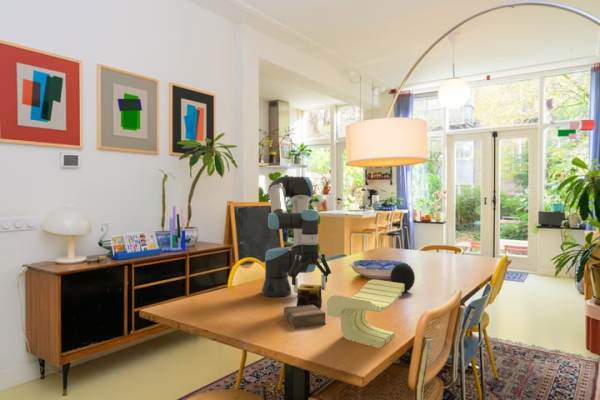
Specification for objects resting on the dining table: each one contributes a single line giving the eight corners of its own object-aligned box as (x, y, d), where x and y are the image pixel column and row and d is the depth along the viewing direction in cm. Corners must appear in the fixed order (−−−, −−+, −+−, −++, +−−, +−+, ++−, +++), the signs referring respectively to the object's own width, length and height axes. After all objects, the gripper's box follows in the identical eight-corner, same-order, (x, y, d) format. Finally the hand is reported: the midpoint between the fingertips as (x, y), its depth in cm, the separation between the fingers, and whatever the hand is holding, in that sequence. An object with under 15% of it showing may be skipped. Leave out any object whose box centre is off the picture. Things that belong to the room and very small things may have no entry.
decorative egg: (390, 288, 218) (390, 261, 217) (413, 289, 215) (413, 261, 215) (390, 294, 205) (390, 265, 205) (415, 295, 203) (415, 266, 203)
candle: (318, 313, 173) (319, 290, 173) (296, 311, 175) (296, 289, 175) (322, 306, 183) (322, 284, 183) (300, 305, 185) (300, 283, 185)
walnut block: (283, 319, 165) (283, 307, 165) (312, 315, 170) (312, 304, 170) (294, 329, 153) (294, 316, 153) (325, 325, 158) (325, 313, 158)
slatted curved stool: (366, 322, 161) (366, 278, 161) (404, 330, 152) (404, 283, 151) (326, 345, 137) (327, 293, 136) (369, 356, 127) (369, 301, 127)
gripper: (286, 245, 170) (286, 295, 170) (338, 243, 180) (338, 290, 180) (280, 243, 177) (280, 291, 177) (330, 241, 186) (330, 287, 186)
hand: (309, 291), depth 178 cm, fingers open, 13 cm apart
